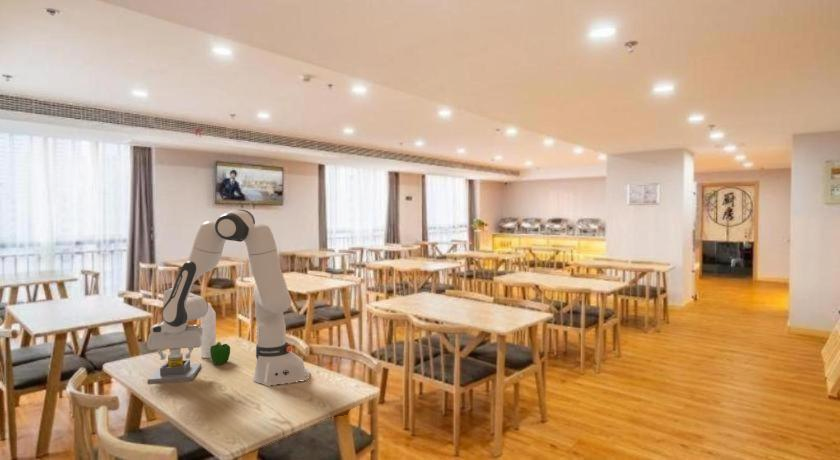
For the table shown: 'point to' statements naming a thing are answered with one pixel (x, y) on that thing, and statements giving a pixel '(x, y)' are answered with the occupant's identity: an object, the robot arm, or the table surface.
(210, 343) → the water bottle
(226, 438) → the table surface
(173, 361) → the supplement bottle
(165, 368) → the bottle stand
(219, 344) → the bell pepper
